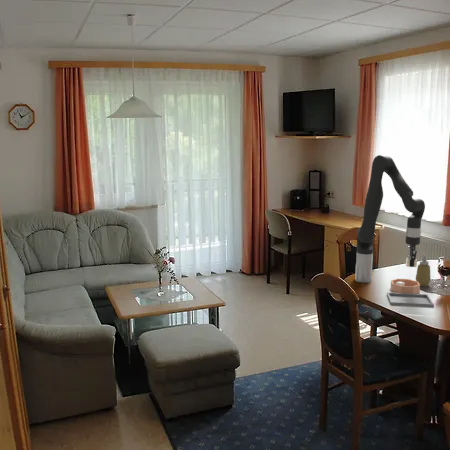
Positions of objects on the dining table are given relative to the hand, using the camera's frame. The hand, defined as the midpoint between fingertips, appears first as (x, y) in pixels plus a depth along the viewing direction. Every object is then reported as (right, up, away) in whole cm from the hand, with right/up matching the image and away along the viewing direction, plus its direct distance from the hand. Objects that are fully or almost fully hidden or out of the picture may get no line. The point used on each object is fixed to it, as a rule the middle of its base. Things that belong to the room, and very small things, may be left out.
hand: (411, 265), depth 281 cm
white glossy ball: (-5, -14, +4) cm, 15 cm away
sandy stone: (0, 0, 0) cm, 0 cm away
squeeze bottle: (+12, -13, +14) cm, 22 cm away
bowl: (-2, -15, +3) cm, 15 cm away
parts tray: (-6, -18, -14) cm, 23 cm away
